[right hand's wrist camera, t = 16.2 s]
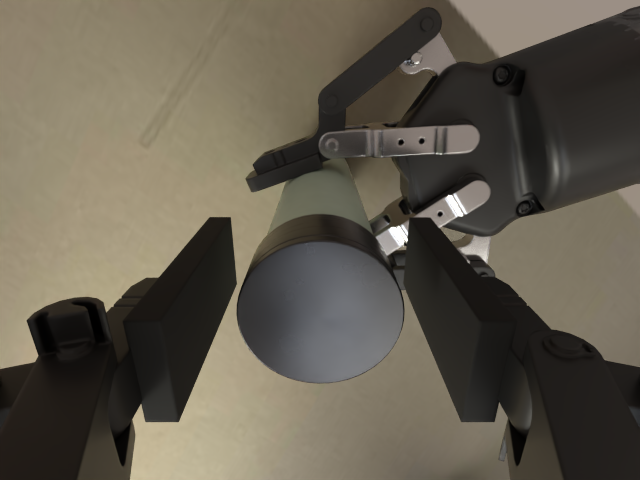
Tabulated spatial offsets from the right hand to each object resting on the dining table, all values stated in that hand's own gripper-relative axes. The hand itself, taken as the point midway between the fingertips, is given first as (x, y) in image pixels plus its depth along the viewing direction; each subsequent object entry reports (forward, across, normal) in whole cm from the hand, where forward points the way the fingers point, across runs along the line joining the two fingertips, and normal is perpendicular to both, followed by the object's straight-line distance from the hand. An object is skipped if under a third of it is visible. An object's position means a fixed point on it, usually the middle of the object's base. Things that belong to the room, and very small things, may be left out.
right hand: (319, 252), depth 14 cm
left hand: (+6, -3, -1) cm, 6 cm away
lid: (-4, 0, 0) cm, 4 cm away
